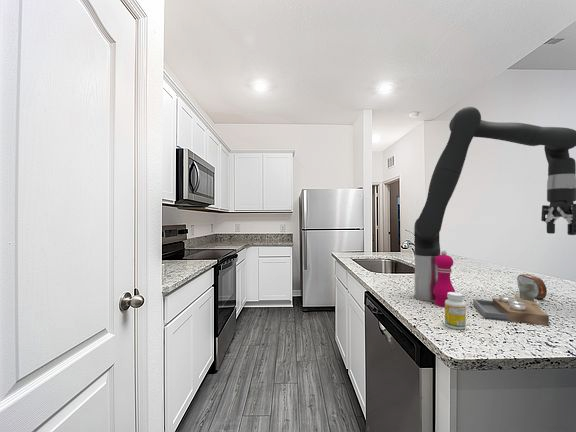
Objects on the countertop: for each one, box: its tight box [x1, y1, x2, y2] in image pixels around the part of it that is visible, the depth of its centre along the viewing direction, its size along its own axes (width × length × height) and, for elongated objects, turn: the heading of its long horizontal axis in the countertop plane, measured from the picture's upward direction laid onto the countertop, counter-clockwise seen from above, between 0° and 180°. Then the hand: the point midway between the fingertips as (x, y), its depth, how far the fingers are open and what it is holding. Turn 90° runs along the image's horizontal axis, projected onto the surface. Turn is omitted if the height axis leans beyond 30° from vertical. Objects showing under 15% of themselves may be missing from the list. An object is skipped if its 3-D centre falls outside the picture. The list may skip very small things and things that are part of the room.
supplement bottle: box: [444, 291, 467, 330], centre depth 84 cm, size 5×5×10 cm
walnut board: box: [491, 297, 550, 327], centre depth 94 cm, size 10×16×3 cm, turn 158°
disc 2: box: [508, 299, 524, 305], centre depth 94 cm, size 4×4×2 cm
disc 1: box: [498, 295, 514, 303], centre depth 99 cm, size 4×4×2 cm
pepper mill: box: [433, 250, 456, 308], centre depth 106 cm, size 7×7×20 cm
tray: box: [472, 298, 509, 322], centre depth 97 cm, size 6×16×2 cm, turn 158°
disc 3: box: [509, 303, 526, 311], centre depth 90 cm, size 4×4×2 cm
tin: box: [516, 273, 548, 300], centre depth 118 cm, size 15×3×8 cm, turn 168°
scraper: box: [514, 282, 541, 310], centre depth 107 cm, size 3×14×8 cm, turn 158°
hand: (561, 234), depth 100 cm, fingers open, 8 cm apart
